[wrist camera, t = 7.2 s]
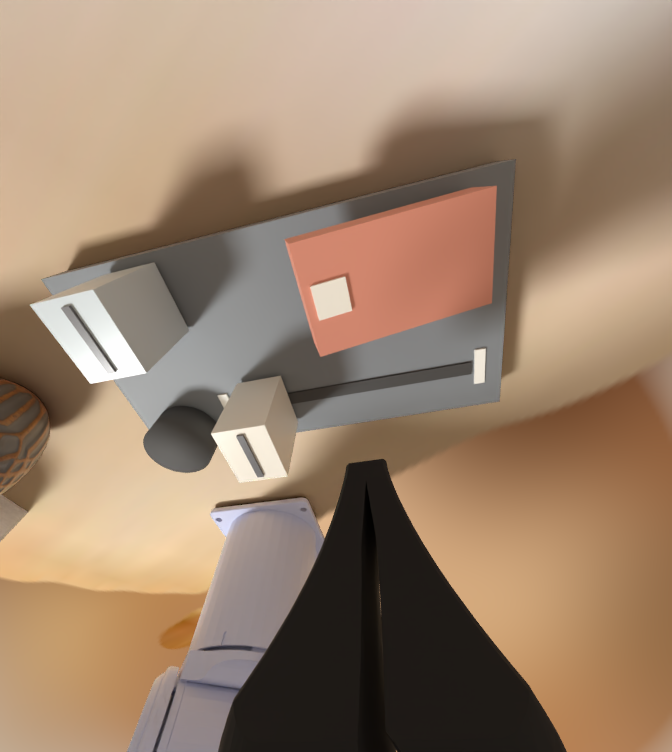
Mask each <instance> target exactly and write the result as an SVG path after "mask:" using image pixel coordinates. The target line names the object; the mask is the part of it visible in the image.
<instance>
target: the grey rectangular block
mask: <svg viewBox="0 0 672 752" xmlns="http://www.w3.org/2000/svg"><path fill="white" fill-rule="evenodd" d="M27 513H28V511H26V510H24V509H23V508H21V507H20V506H18V505H17V504H15V503H14V502H12V501H11V500H9V499H8V498H6V497H4V496H3V495H0V541H1V540H2V539H3V538H4V537H5V536H6V535H7V534H8V533H9V532H10V531H11V530H12V529H13V528H14V527H15V526H16V525H17V524H18V522H19V521H20V520H21V519H22V518H23V517H24V516H25V515H26V514H27Z"/></svg>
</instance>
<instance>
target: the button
mask: <svg viewBox="0 0 672 752" xmlns="http://www.w3.org/2000/svg"><path fill="white" fill-rule="evenodd" d="M215 425H216V422H215V420H214V419H213V418H212V417H210V416H209V415H208V414H206V413H205V412H203V411H201V410H199V409H196V408H193V407H188V406H175V407H171V408H168V409H167V410H165V411H164V412H163V413H162V414H161V415H160V416H159V418H158V419H157V420H156V422H155V423H154V424H153V425H152V427H151V428H150V429H149V431H148V432H147V433H146V435H145V436H144V441H143V443H144V448H145V450H146V452H147V454H148V455H149V456H150V457H151V458H152V459H153V460H154V461H155V462H156V463H158V464H159V465H161V466H163V467H165V468H167V469H170V470H173V471H177V472H185V473H190V472H196V471H200V470H202V469H204V468H205V467H206V466H207V465H208V464H209V462H210V460H211V458H212V456H213V454H214V452H215V450H216V448H217V446H218V445H217V443H216V442H215V440H214V438H213V437H212V435H211V432H212V430H213V428H214V427H215Z"/></svg>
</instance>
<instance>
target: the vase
mask: <svg viewBox="0 0 672 752" xmlns="http://www.w3.org/2000/svg"><path fill="white" fill-rule="evenodd" d="M49 436H50V422H49V416H48V413H47V410H46V408H45V406H44V405H43V403H42V402H41V401H40V400H39V399H38V398H37V397H36V396H35V395H34V394H33V393H32V392H30V391H29V390H27V389H26V388H24V387H22V386H20V385H18V384H16V383H14V382H11V381H8V380H4V379H0V495H2V494H3V493H5V492H6V491H7V490H9V489H10V488H11V487H13V486H14V485H15V484H16V483H17V482H18V481H20V480H21V479H22V478H23V477H24V476H25V475H26V474H27V473H28V472H29V471H30V469H31V468H32V467H33V466H34V465H35V464H36V462H37V461H38V459H39V458H40V456H41V455H42V453H43V451H44V449H45V447H46V445H47V442H48V440H49Z"/></svg>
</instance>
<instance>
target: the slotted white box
mask: <svg viewBox="0 0 672 752" xmlns="http://www.w3.org/2000/svg"><path fill="white" fill-rule="evenodd" d="M30 306H31V307H32V309H33V310H34V311H35V313H36V314H37V315H38V316H39V318H40V319H41V320H42V322H43V323H44V324H45V326H46V327H47V328H48V329H49V331H50V332H51V333H52V335H53V336H54V337H55V339H56V340H57V341H58V342H59V344H60V345H61V346H62V348H63V349H64V350H65V352H66V353H67V354H68V355H69V357H70V358H71V359H72V361H73V362H74V363H75V364H76V366H77V367H78V368H79V370H80V371H81V372H82V374H83V375H84V376H85V377H86V379H87V380H88V381H89V383H90V384H92V383H97V382H103V381H108V380H113V379H118V378H123V377H128V376H134V375H139V374H144V373H147V372H148V371H149V370H150V369H151V368H152V367H153V366H154V365H155V364H156V363H157V362H158V361H159V360H160V359H161V358H162V357H163V356H164V355H165V354H166V353H167V352H168V351H169V350H170V349H171V348H172V347H173V346H174V345H175V344H176V343H177V342H178V341H179V340H180V339H181V338H182V337H183V336H185V335H186V334H187V333H188V332H189V329H188V327H187V325H186V323H185V321H184V319H183V317H182V315H181V313H180V311H179V309H178V308H177V306H176V304H175V302H174V300H173V298H172V296H171V294H170V292H169V290H168V288H167V286H166V284H165V282H164V280H163V278H162V276H161V274H160V272H159V270H158V269H157V267H156V265H155V263H154V262H153V263H149V264H145V265H141V266H137V267H133V268H129V269H125V270H121V271H117V272H113V273H109V274H105V275H102V276H100V277H97V278H95V279H92V280H90V281H87V282H85V283H82V284H80V285H77V286H75V287H72V288H70V289H68V290H65V291H63V292H60V293H58V294H55V295H53V296H50V297H48V298H45V299H43V300H40V301H38V302H35V303H33V304H30Z"/></svg>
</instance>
